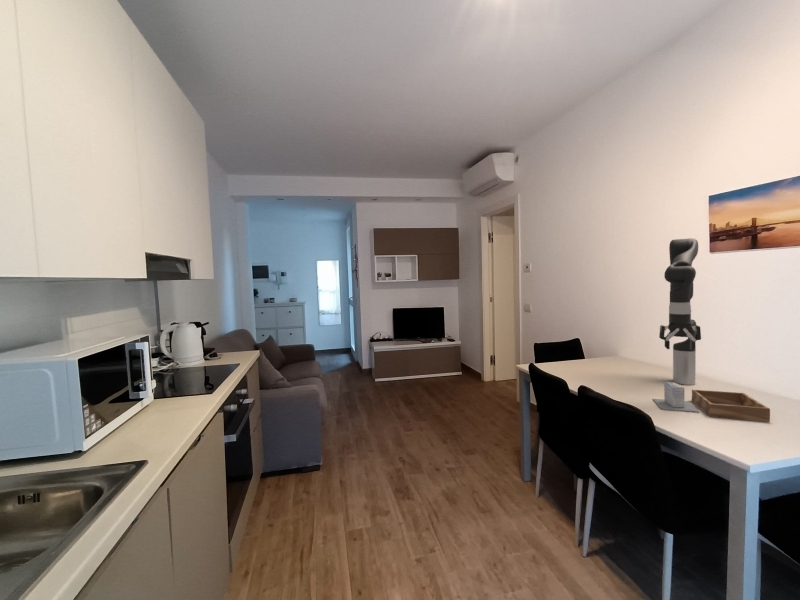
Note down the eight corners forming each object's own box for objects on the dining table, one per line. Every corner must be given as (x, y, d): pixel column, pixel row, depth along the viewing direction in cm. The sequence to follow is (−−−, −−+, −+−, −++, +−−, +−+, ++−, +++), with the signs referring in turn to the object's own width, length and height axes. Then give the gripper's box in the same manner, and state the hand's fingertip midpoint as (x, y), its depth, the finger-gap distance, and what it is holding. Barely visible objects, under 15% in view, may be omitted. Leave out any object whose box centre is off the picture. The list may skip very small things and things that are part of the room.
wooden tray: (691, 400, 162) (691, 389, 161) (743, 404, 155) (743, 392, 154) (710, 416, 143) (710, 404, 143) (769, 421, 136) (770, 408, 136)
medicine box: (684, 408, 151) (685, 387, 151) (672, 407, 153) (672, 387, 152) (675, 401, 159) (675, 382, 159) (664, 401, 160) (664, 382, 160)
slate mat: (652, 399, 164) (652, 398, 164) (687, 402, 159) (687, 401, 159) (661, 409, 152) (661, 408, 152) (699, 412, 147) (699, 411, 147)
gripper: (696, 311, 157) (696, 347, 158) (657, 311, 162) (657, 346, 164) (703, 313, 150) (703, 351, 151) (662, 313, 155) (662, 350, 157)
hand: (679, 349), depth 157 cm, fingers open, 8 cm apart
